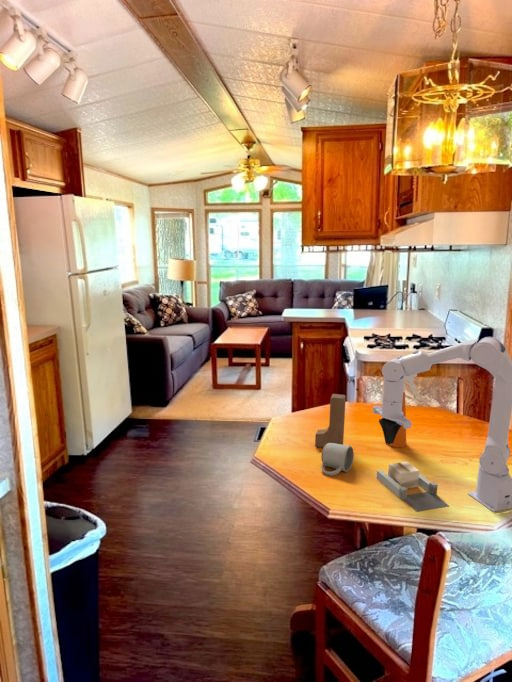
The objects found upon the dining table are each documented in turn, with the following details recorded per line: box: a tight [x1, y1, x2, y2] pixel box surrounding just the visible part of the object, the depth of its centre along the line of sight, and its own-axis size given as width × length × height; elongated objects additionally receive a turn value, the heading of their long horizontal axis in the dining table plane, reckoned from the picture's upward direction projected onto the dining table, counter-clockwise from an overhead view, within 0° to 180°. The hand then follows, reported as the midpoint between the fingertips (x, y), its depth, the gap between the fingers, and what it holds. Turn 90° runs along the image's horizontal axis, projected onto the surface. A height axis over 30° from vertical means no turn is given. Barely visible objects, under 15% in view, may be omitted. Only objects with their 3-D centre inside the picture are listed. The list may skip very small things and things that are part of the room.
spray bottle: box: [385, 373, 421, 448], centre depth 162 cm, size 7×11×26 cm, turn 46°
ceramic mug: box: [320, 443, 355, 477], centre depth 146 cm, size 11×8×8 cm
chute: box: [376, 469, 438, 501], centre depth 136 cm, size 13×11×3 cm
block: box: [387, 461, 420, 490], centre depth 137 cm, size 6×6×5 cm
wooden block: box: [314, 393, 347, 448], centre depth 162 cm, size 9×4×18 cm, turn 72°
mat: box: [403, 491, 450, 513], centre depth 128 cm, size 8×10×1 cm
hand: (389, 442), depth 143 cm, fingers closed
